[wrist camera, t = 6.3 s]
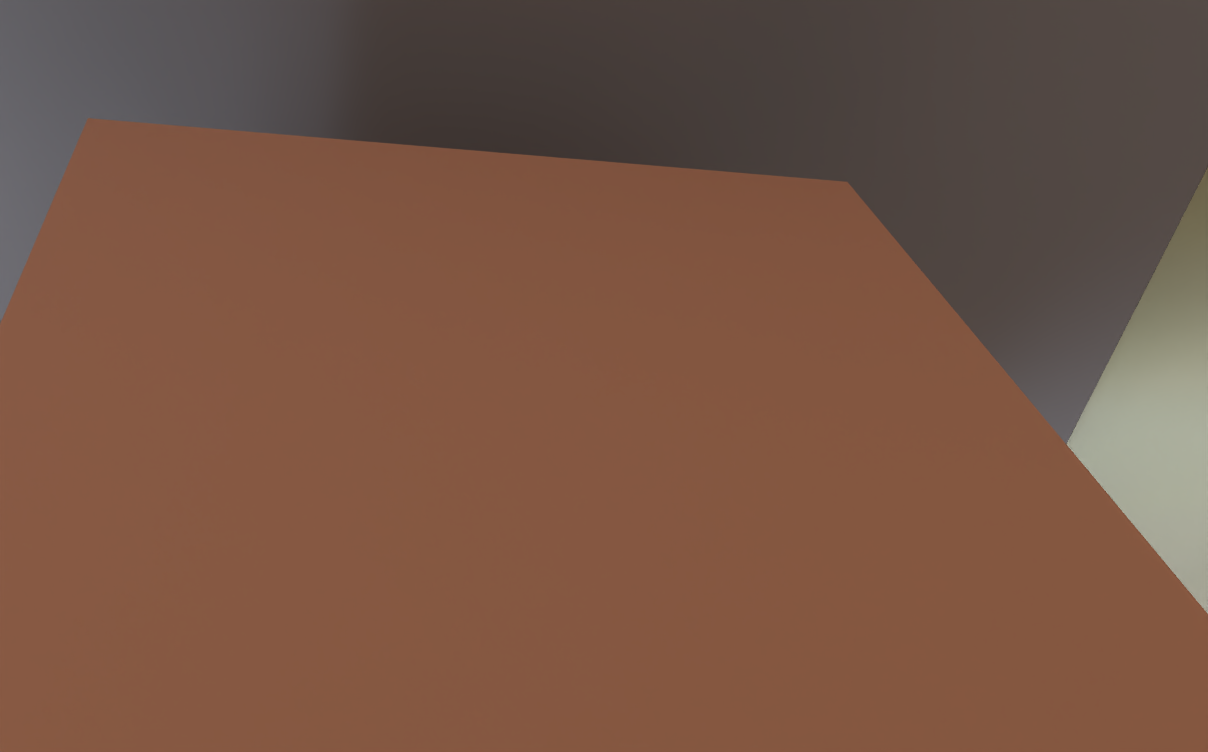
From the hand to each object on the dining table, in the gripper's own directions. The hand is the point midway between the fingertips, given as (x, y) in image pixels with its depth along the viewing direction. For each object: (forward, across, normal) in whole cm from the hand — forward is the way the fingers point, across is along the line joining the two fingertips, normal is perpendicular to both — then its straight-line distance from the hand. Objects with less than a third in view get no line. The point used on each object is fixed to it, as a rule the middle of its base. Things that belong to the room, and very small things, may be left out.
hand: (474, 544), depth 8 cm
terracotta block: (+1, 0, 0) cm, 1 cm away
